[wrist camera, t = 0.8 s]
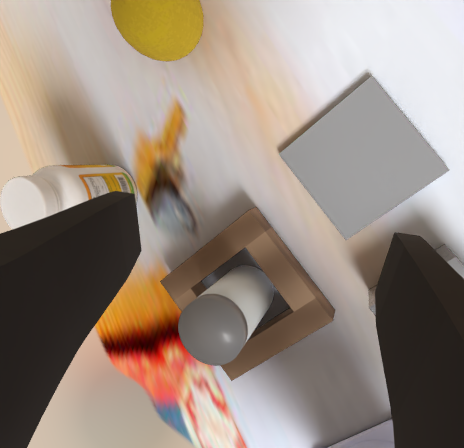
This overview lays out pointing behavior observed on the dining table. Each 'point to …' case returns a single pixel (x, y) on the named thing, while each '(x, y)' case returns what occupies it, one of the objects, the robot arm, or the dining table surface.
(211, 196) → the dining table surface
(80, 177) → the supplement bottle
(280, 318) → the walnut housing
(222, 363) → the cylinder
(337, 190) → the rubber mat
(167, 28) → the lemon
